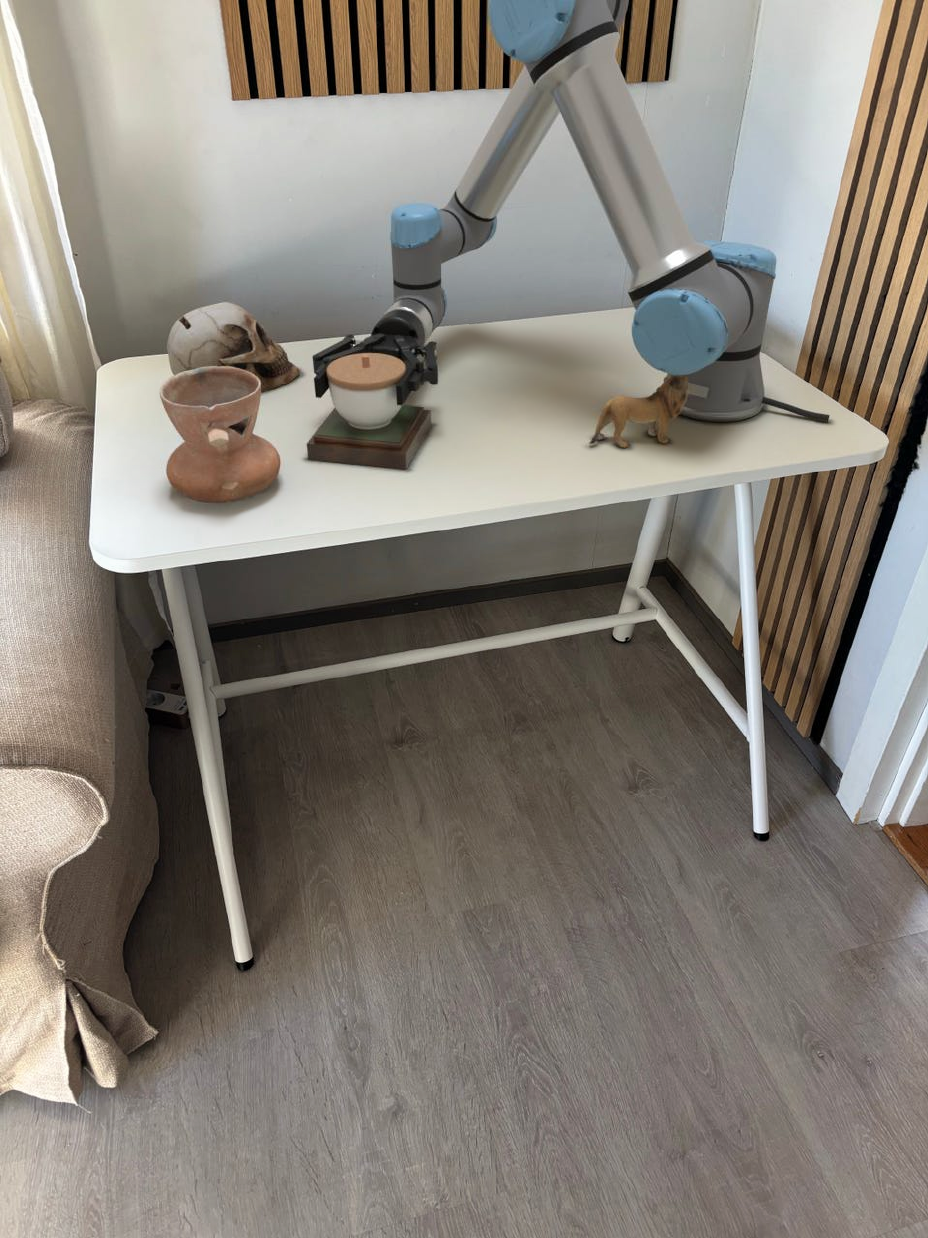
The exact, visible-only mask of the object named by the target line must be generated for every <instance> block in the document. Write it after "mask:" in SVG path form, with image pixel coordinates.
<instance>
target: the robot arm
mask: <svg viewBox="0 0 928 1238" xmlns="http://www.w3.org/2000/svg"><path fill="white" fill-rule="evenodd" d="M629 2H630V0H488V21H489V26H490V30H491V33H492V35H493V39H494V40H495V42H496V44H497V45H498V47H499V48H500V49H501V50H502V52H503V53H504V54H506V56H508V57H510V58H512V59H514V60H515V61H518V62H520V63H524V66H523V68H522V69H521V72H520V73H519V75H518V77H517V78H516V80H515V82H514V84H513V85H512V87H511V89H510V91H509V93H508V95H507V96H506V98H505V100H504V102H503V104H502V106H501V107H500V110H499V111H498V113H497V114H496V117H495V118H494V120H493V122H492V123H491V125H490V127H489V129H488V130H487V133H486V134H485V136H484V138H483V140H482V141H481V143H480V145H479V147H478V148H477V151H476V152H475V154H474V156H473V158H472V160H471V161H470V163H469V164H468V167H467V169H466V171H465V172H464V174H463V176H462V178H461V179H460V181H459V183H458V185H457V187H456V189H455V191H454V192H453V194H452V196H451V198H450V199H449V201H448V203H447V204H446V205H445V206H444V207H442V208H440V209H439V208H438V207H437V206H435V205H433V204H431V203H424V202H410V203H403V204H400V205H398V206H396V207H395V208H393V210H392V211H391V213H390V232H389V233H390V236H389V239H390V245H391V246H390V247H391V248H390V249H391V263H392V264H391V265H392V281H393V283H392V286H393V288H392V289H393V303H392V304H391V305H390V307H389V308H388V309H387V310H386V311H385V313H384V314H383V315H382V316H381V318H380V319H379V320H378V321H377V323H376V324H375V325H374V326H373V329H372V331H371V332H370V333H371V334H370V336H369V335H368V336H366V337H365V338H364V339H363V340H357V339H356V338H355V335H354V334H346V335H345V336H344V337H343V339H342V340H339V341H337V342H336V343H334V344H332V345H330V346H329V347H327V348H325V349H322V350H321V351H318V352H317V353H315V354H312V367H313V374H314V375H315V376H314V377H313V382H314V383H313V386H314V393H315V398H317V399H321V398H322V397H323V396H324V395H325V394H326V393H327V391H329V383H328V378H327V367H328V366H329V364H330V363H332V362H333V361H335V360H337V359H339V358H341V357H344V356H348V355H352V354H360V353H379V354H386V355H390V356H393V357H396V358H398V359H400V360H401V361H402V362H403V363H404V364H405V366H406V372H405V374H404V375H403V376H402V378H401V379H400V381H399V382H398V384H397V385H396V395H397V405H405V402H406V401H407V399H408V398H409V396H410V395H411V393H412V392H417V391H419V389H420V388H421V387H422V386H423V385H425V383H429V385H432V386H433V385H434V386H435V385H438V384H439V369H438V368H439V367H438V362H437V360H438V346H437V345H438V342H437V341H433V340H432V341H429V339H430V337H431V336H432V334H433V333H434V331H435V330H436V329H437V328H438V327H439V326H440V325H441V323H442V321H443V318H444V317H445V315H446V311H447V308H448V298H447V294H446V292H445V290H444V288H443V286H442V264H445V263H446V262H448V261H451V260H453V259H455V258H458V257H459V256H462V255H464V254H466V253H469V252H471V251H475V250H478V249H480V248H481V247H483V246H484V245H485V244H486V243H489V241H491V240H492V239H493V237H494V236H495V234H496V232H497V227H498V226H497V224H498V214H499V213H500V210H501V209H502V208H503V206H504V204H505V203H506V201H507V199H508V198H509V196H510V194H511V193H512V191H513V189H514V188H515V186H516V185H517V183H518V181H519V180H520V178H521V177H522V175H523V173H524V171H525V170H526V168H527V167H528V165H529V164H530V162H531V160H532V158H533V157H534V155H535V154H536V152H537V151H538V149H539V147H540V146H541V144H542V142H543V141H544V139H545V138H546V136H547V135H548V133H549V131H550V129H551V128H552V126H553V125H554V124H555V122H556V120H557V118H558V116H559V114H560V115H561V117H562V119H563V121H564V124H565V126H566V129H567V130H568V133H569V135H570V138H571V140H572V142H573V144H574V147H575V149H576V151H577V153H578V155H579V157H580V161H581V162H582V163H583V166H584V169H585V171H586V173H587V176H588V177H589V179H590V182H591V184H592V186H593V188H594V191H595V193H596V196H597V198H598V200H599V202H600V204H601V207H602V209H603V211H604V214H605V215H606V218H607V220H608V222H609V224H610V227H611V230H612V232H613V234H614V236H615V238H616V240H617V243H618V244H619V247H620V249H621V251H622V253H623V256H624V258H625V260H626V262H627V265H628V268H629V269H630V272H631V276H630V280H629V283H628V286H627V289H626V291H627V294H628V296H629V298H630V300H631V301H630V302H631V303H632V306H633V308H634V315H633V321H632V324H631V337H632V342H633V344H634V347H635V349H636V351H637V352H638V355H639V356H640V357H641V359H643V360H644V362H646V363H647V364H648V365H649V366H650V367H652V368H653V369H655V370H656V371H660V372H662V373H665V374H666V376H665V377H667V376H668V375H684V376H686V377H688V383H689V387H690V393H689V395H688V397H687V401H686V403H685V404H684V407H683V408H682V411H681V413H680V414H679V415H681V416H684V417H687V418H691V419H693V420H694V419H695V420H700V421H706V422H718V423H719V422H721V423H722V422H725V423H727V422H736V421H742V420H746V419H749V418H752V417H754V416H756V415H758V414H759V413H760V412H761V411H762V409H763V406H764V405H767V406H771V407H774V408H776V409H780V410H783V411H787V412H789V413H793V414H795V415H798V416H801V417H804V418H808V419H812V420H818V421H823V422H829V419H830V414H826V413H819V412H814V411H810V410H808V409H807V410H806V409H803V408H800V407H797V406H795V405H792V404H790V403H786V402H784V401H783V402H782V401H779V400H776V399H773V398H770V397H766V396H765V386H764V385H765V384H764V377H763V371H762V364H761V357H760V356H761V349H762V346H763V345H762V344H763V339H764V334H765V329H766V324H767V318H768V312H769V309H770V302H771V299H772V298H771V297H772V292H773V287H774V280H775V279H776V276H777V274H776V270H777V257H776V255H775V253H774V252H773V251H771V250H770V249H767V248H765V247H762V246H758V245H754V244H749V243H742V242H735V241H720V240H719V241H718V240H717V241H716V240H714V241H713V240H712V241H711V240H710V241H702V242H698V241H696V240H694V238H693V237H692V235H691V232H690V230H689V228H688V226H687V223H686V220H685V218H684V215H683V214H682V211H681V209H680V207H679V204H678V202H677V200H676V197H675V194H674V192H673V190H672V188H671V185H670V184H669V183H670V182H669V181H668V179H667V176H666V174H665V171H664V168H663V167H662V164H661V162H660V160H659V157H658V155H657V152H656V150H655V148H654V146H653V143H652V141H651V138H650V136H649V133H648V131H647V129H646V126H645V124H644V122H643V119H642V117H641V115H640V113H639V110H638V107H637V105H636V103H635V101H634V98H633V95H632V94H631V92H630V89H629V87H628V84H627V82H626V80H625V77H624V75H623V73H622V70H621V68H620V66H619V65H620V64H618V61H617V59H616V52H617V49H618V47H619V46H618V45H619V42H620V39H621V35H620V32H619V31H620V28H621V27H622V25H623V22H624V20H625V18H626V14H627V11H628V7H629ZM426 343H427V344H426ZM419 356H421V357H422V358H423V361H420V360H419V359H418V358H417V357H419ZM424 363H425V364H424Z"/></svg>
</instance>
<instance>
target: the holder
mask: <svg viewBox="0 0 928 1238" xmlns="http://www.w3.org/2000/svg"><path fill="white" fill-rule="evenodd" d="M424 407H425V406H416V405H405V404H403V405H402V406H401V409H400V410H399V412H398V413H397V415H396V416H395V417H394V418H393V419H392V420H391V422H390V423H389V424H388V425H387V426H385V427H382V428H378V429H372V430H364V429H358V428H355V427H352V426H351V425H350V424H349V423H348V421H346V420H345V419H344V418H343V417H342V416H341V415H340V414H339V413H338V412H337V410H336V408H335V407H334V408H333V409H332V410H331V411H330V413H329V414H328V415H327V417H326V418H325V419H324V420H323V422H322V423H321V424H320V425H319V427H318V428H317V429H316V431H315V432H314V433H313V435H312V436H311V437H310V438H309V440H308V441H307V442H306V453H307V459H308V460H309V461H319V462H327V463H337V464H339V463H340V464H348V465H358V466H368V467H376V468H377V467H378V468H388V469H398V470H407V469H408V467H409V466H410V463H411V462H412V460H413V459H414V457H415V455H416V453H417V451H418V449H419V447H420V446H421V444H422V442H423V440H424V439H425V437H426V435H427V433H428V431H429V430H430V428H431V426H432V410H431V409H425V408H424Z"/></svg>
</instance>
